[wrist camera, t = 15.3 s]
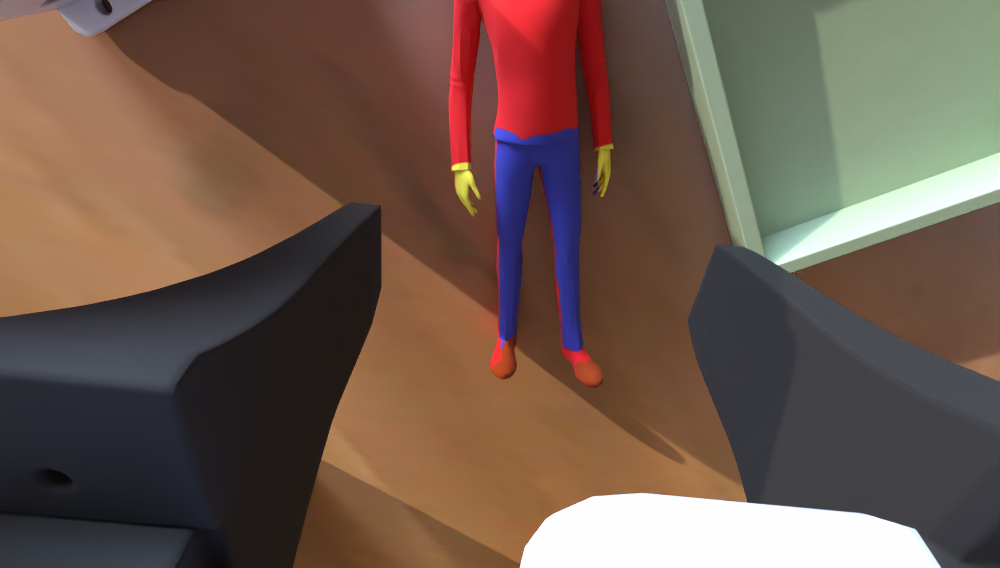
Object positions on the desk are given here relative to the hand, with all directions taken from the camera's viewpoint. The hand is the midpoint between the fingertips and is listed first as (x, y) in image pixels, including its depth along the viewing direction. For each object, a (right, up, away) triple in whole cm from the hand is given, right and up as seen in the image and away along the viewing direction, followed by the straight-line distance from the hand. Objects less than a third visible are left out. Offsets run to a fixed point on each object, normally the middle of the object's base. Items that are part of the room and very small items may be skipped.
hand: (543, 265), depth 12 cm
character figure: (0, +6, +8) cm, 10 cm away
